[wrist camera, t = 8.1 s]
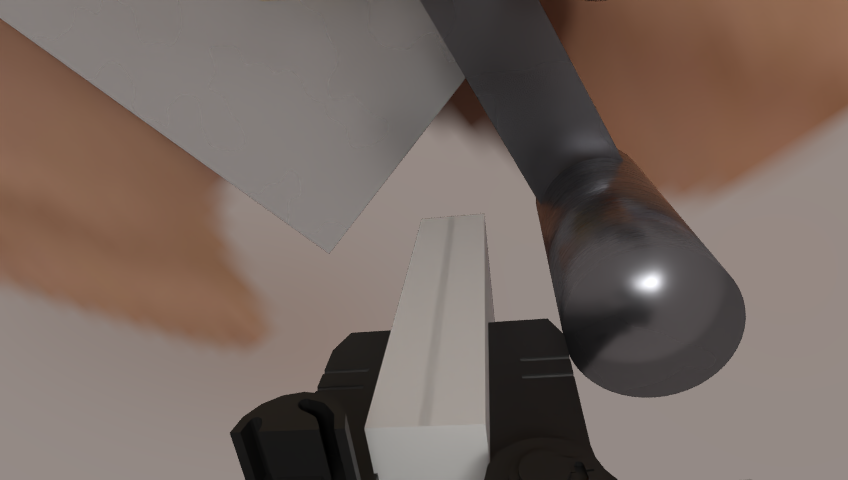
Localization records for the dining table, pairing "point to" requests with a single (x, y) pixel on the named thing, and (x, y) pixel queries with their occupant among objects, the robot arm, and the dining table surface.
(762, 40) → the dining table surface
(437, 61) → the cap plate
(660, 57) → the dining table surface
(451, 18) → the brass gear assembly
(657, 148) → the dining table surface
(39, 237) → the dining table surface
